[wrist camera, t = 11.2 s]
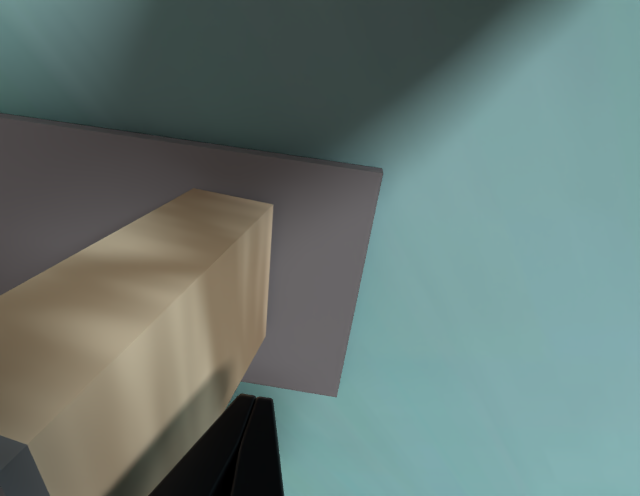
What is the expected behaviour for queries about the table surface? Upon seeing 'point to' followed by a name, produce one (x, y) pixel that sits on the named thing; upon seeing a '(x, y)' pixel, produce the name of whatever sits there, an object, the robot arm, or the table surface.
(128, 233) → the wooden block
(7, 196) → the mat
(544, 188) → the table surface
